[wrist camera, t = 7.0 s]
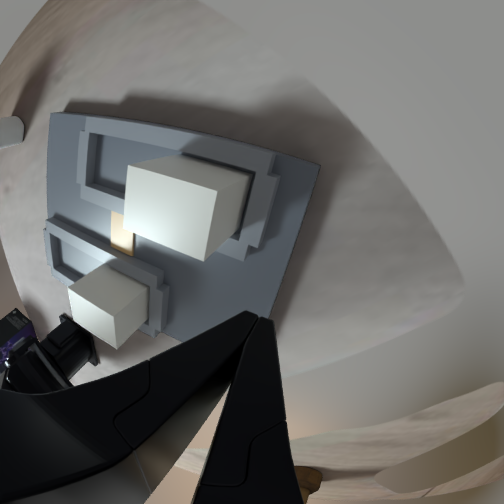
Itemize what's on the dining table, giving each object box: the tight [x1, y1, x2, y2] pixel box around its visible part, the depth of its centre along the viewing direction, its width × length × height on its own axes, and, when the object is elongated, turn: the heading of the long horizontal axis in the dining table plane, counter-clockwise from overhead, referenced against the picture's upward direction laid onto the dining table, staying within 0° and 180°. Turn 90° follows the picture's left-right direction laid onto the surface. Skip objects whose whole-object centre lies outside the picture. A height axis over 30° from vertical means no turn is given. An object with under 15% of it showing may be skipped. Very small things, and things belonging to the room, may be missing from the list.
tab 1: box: [68, 263, 150, 349], centre depth 21 cm, size 4×5×5 cm
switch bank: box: [43, 112, 321, 342], centre depth 21 cm, size 17×24×2 cm
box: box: [0, 308, 37, 374], centre depth 38 cm, size 17×7×12 cm, turn 167°
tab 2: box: [123, 154, 253, 262], centre depth 15 cm, size 4×5×5 cm
